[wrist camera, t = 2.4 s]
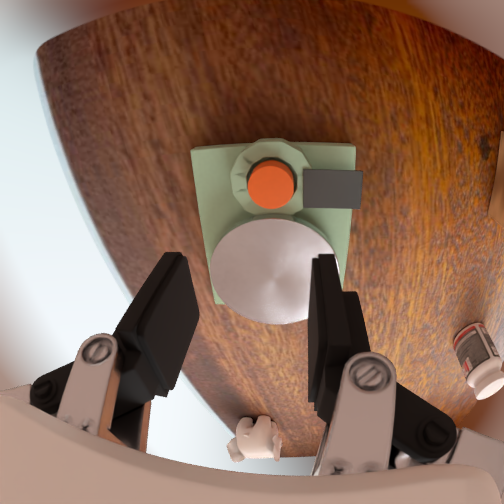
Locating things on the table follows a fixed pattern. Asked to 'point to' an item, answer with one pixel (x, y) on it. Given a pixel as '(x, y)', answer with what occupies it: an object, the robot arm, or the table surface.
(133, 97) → the table surface
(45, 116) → the table surface
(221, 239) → the scale pan
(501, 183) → the stand
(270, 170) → the tare button
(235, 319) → the table surface
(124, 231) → the table surface
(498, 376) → the pill bottle
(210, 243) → the scale
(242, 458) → the elephant figurine
